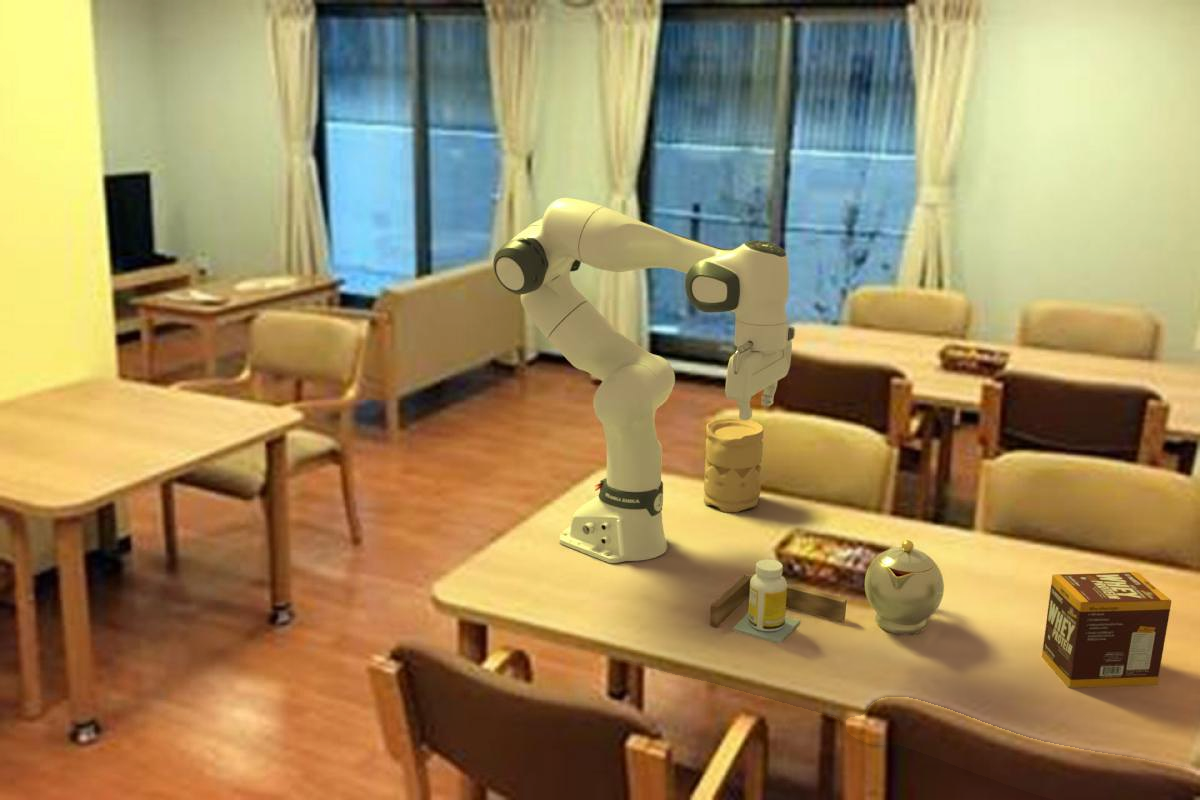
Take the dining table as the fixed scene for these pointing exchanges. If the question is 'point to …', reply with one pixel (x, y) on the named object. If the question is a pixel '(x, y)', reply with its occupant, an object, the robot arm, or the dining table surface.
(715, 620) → the wooden l-shaped wall
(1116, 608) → the supplement box
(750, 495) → the container
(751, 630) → the pad
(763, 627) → the pill bottle
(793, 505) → the dining table surface
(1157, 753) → the dining table surface
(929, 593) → the teapot
